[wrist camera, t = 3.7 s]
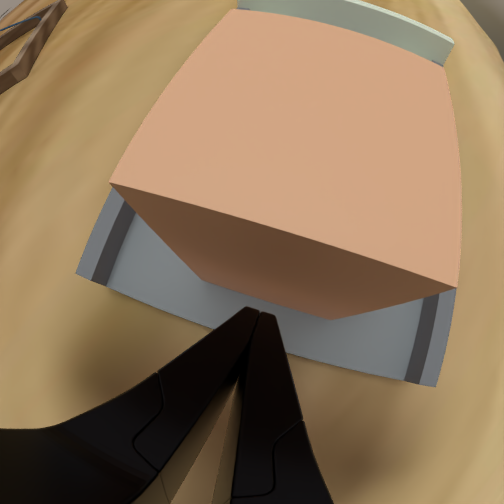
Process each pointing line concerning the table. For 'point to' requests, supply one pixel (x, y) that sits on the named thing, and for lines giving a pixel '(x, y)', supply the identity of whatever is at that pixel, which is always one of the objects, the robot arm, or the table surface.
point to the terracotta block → (303, 167)
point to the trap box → (289, 320)
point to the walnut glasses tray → (29, 42)
